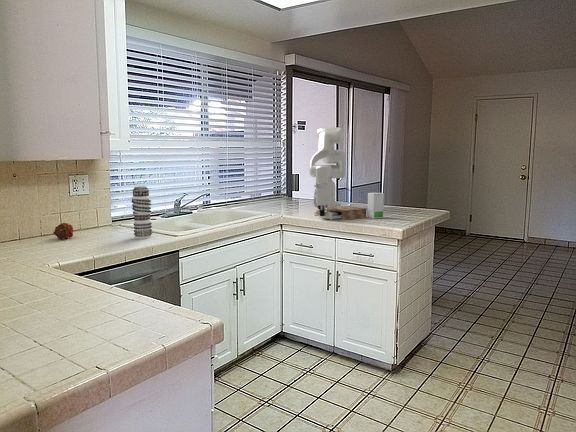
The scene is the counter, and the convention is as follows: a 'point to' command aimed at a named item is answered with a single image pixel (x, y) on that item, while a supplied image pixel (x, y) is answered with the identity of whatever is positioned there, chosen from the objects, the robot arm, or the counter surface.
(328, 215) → the tray
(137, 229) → the decorative candle
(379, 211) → the skincare box
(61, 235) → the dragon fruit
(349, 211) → the housing
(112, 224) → the counter surface
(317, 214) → the stand
